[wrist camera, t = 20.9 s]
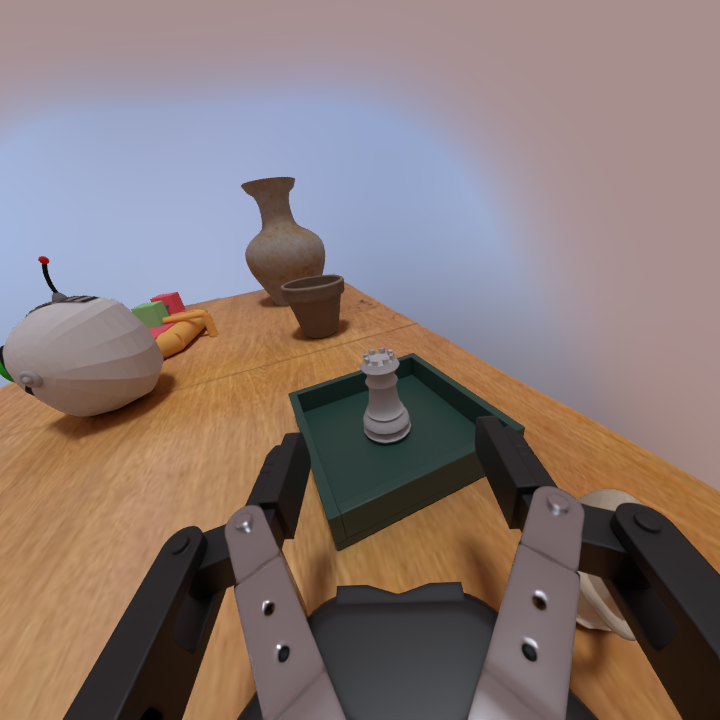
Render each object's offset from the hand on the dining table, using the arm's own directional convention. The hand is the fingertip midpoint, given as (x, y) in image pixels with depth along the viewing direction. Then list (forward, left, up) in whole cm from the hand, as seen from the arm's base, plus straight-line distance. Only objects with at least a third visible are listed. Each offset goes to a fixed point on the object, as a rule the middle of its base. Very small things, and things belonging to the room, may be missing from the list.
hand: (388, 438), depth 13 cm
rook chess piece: (-4, -10, -9) cm, 14 cm away
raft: (+26, -60, -10) cm, 66 cm away
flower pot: (-6, -42, -10) cm, 43 cm away
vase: (-7, -76, -10) cm, 77 cm away
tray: (-4, -10, -10) cm, 14 cm away
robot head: (+26, -35, -10) cm, 44 cm away
